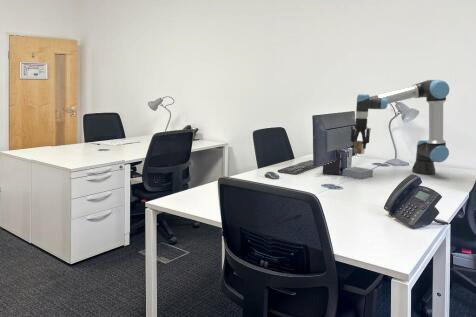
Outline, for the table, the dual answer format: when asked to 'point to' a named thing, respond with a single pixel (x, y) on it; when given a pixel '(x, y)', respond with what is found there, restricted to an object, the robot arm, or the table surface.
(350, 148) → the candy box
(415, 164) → the robot arm
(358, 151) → the walnut block
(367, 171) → the slate base
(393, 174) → the table surface
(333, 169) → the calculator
